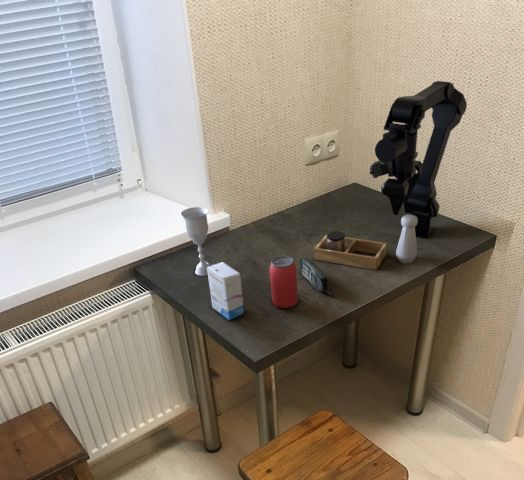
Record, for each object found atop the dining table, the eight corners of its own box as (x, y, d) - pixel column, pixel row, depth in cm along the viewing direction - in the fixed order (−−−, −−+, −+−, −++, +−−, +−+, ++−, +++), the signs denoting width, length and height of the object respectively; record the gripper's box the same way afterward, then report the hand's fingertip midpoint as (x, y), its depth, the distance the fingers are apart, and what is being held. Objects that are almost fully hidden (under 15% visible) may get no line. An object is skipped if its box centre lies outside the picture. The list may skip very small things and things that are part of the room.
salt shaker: (416, 265, 155) (420, 221, 147) (395, 264, 156) (398, 221, 148) (416, 255, 159) (420, 212, 151) (395, 254, 160) (398, 211, 153)
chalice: (220, 266, 163) (211, 208, 152) (211, 278, 158) (201, 218, 147) (197, 264, 166) (187, 206, 155) (187, 275, 161) (176, 216, 150)
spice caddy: (326, 245, 169) (326, 234, 166) (386, 254, 161) (387, 243, 159) (314, 259, 162) (313, 248, 160) (376, 270, 155) (376, 258, 152)
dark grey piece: (297, 257, 154) (323, 281, 142) (307, 255, 155) (333, 277, 143) (298, 274, 157) (323, 298, 145) (308, 271, 158) (334, 294, 146)
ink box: (245, 313, 143) (241, 272, 136) (229, 321, 141) (223, 280, 133) (227, 300, 149) (222, 260, 141) (211, 307, 146) (205, 267, 139)
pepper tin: (330, 249, 166) (330, 230, 162) (347, 252, 164) (347, 232, 160) (324, 257, 163) (324, 237, 159) (341, 260, 161) (341, 240, 157)
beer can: (271, 296, 148) (267, 256, 141) (296, 294, 148) (294, 253, 141) (273, 310, 143) (270, 269, 136) (299, 307, 143) (297, 265, 136)
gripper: (384, 137, 155) (382, 191, 164) (362, 160, 142) (361, 218, 151) (425, 139, 150) (420, 195, 160) (406, 164, 138) (402, 223, 147)
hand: (400, 207), depth 155 cm, fingers open, 9 cm apart
